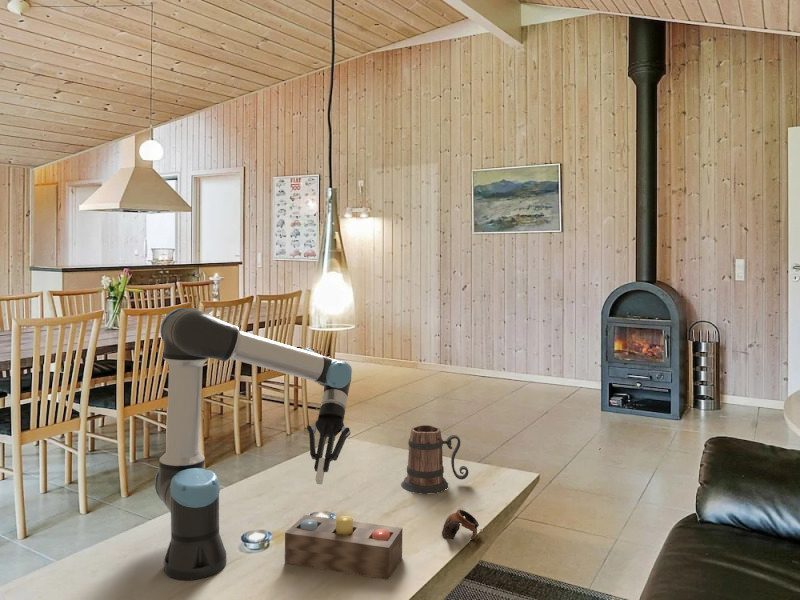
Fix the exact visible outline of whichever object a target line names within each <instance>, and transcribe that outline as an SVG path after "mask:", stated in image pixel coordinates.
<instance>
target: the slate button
mask: <svg viewBox="0 0 800 600" xmlns="http://www.w3.org/2000/svg"><path fill="white" fill-rule="evenodd" d="M316 528H317V521H316V520H313V519H307V520H303V521H302V522H301V529H305V530H312V531H314V530H315V529H316Z"/></svg>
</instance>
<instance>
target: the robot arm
mask: <svg viewBox="0 0 800 600" xmlns="http://www.w3.org/2000/svg"><path fill="white" fill-rule="evenodd" d="M160 336H161V339H162V341H163V354H162V355H163V360H164V361H166V363H167V364H168V383H167V384H168V388H167V411H166V416H167V417H166V435H165V436H166V437H165V438H166V439H165V440H166V441H165V453H164V454H163V455H161V456H160V457H159V463H158V464H159V465H158V470H157V471H156V474H155V477H154V488H155V492H156V494H157V497H158V498H159V499H160V500H161V501H162V503H164V505H165V506H166V508H167V509H168V510H169V512H170V535H171V536H170V541H169V545H168V547H167V551H166V553H165V557H164V561H163V570H164V573H165V575H167V576H168V577H170V578H172V579H174V580H180V581H181V580H183V581H189V580H192V581H193V580H199V579H204V578H208V577H210V576H212V575H214V574H215V575H216V574H217V573H218V572H220V571H221V570H223V569H224V568H225V567H226V566H227V565H226V564H227V550H226V549H225V545H224V543H223V540H222V536H221V534H220V491H221V490H220V489H221V488H220V484H219V478H218V475H217V474H216V473H215V472H214V471H213V470H210V469H205V458H206V457H205V456H204V455H203V453H201V451H200V441H201V440H200V438H201V437H200V435H201V416H202V415H201V413H202V392H203V391H202V387H203V367H204V366H203V365H204V364H205V362H207V361H209V359H214V360H219V361H222V362H229V361H230V360H233V361H236V362H237V361H239V362H241V363H244V364H249V365H252V366H257V367H259V368H264V369H267V370H271V371H275V372H279V373H282V374H284V375H285V374H286V375H290V376H293V377H298V378H301V379H305V380H308V381H312V382H314V383H317V384H318V385H319V386H322V387H323V393H322V397H321V398H322V399H321V403H320V408H319V412H318V417H317V420H316V421H315V423H314V424H313V425H306V429H307V432H308V434H309V435H308V436H309V455H310V457H311V459H312V460H315V462H314V471H315V472H316V474H315V479H314V480H315V482H316V484H317V485H323V483H324V476H325V473H328V472H329V469H330V464H331V462H332V461H334V462H335V461H337V460H338V458H339V456H340V454H341V451H342V450H343V449H342V448H343V446H344V445H345V442H346V440H347V439H348V437H350V435H351V430H350V427H347V426H345V423H344V421H345V414H346V408H347V402H348V398H349V397H348V396H349V391H350V386H351V381H352V374H353V373H352V372H353V370H352V369H353V368H352V366H351V365H350V364H349V363H348V362H346V361H343V360H338V359H335V358H331V357H328V356H325V355H322V354H318V353H317V352H315V350H312V349H310V348H308V347H304V348H302V349H301V348H297V347H295V346H291V345H288V344H284V343H281V342H278V341H274V340H271V339H269V338H265V337H262V336H259V335H255V334H252V333H249V332H246V331H241V330H240V329H239V326H237V325H234V324H232V323H229V322H226V321H223V320H222V319H220V318H217V317H215V316H213V315H211V314H209V313H207V312H205V311H202V310H198V309H197V308H196V309H195V308H193V307H181V308H179V307H178V308H175V309H174V310H171V311H170V312H169V313H168V314H167V315H166V316H165V317H164V318H163V320H162V322H161V324H160ZM317 431H318V434H319V440H318V445H317V449H316V438H315V437H316V436H315V434H316V433H317ZM339 434H340V435H339ZM338 435H339V437H338V440H337V441H336V440H335V439H336V436H338ZM327 438H328V439H327ZM326 441H327V443H326ZM335 441H336V444H335ZM334 444H335V446H334ZM325 445H326V450H324V449H325ZM324 451H325V454H324ZM323 455H324V457H323Z"/></svg>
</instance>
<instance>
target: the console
mask: <svg viewBox="0 0 800 600" xmlns="http://www.w3.org/2000/svg"><path fill="white" fill-rule="evenodd" d="M307 519H313V520H316V521H317V528H316V529H315V530H314V531H312V530H305V529H301V522H302V521H303V520H307ZM378 529H384V530H388V531H389V532H390V539H389V540H388V541H383V540H376V539H372V532H373V531H375V530H378ZM402 558H403V527H399V526H392V525H391V526H390V525H383V524H375V523H368V522H363V521H361V522H360V521H354V520H353V533H352V534H351V536H348V535H341V534H336V518H330V517H323V516H322V517H321V516H316V515H309V514H304V515H303V516H301V518H299V519H298V521H296V522H295V523H294V524H293V525H292V526H291V527H289V528H288V530H286V531H285V532H284V564H288V563H289V565H293V566H294V565H296V566H301V567H308V568H314V569H320V570H327V571H331V572H340V573H346V574H351V575H359V576H365V577H370V578H376V579H383V580H390V578H391V577H392V575H393V573H394V571H395V570H396V569H397V567H398V565H399V564H400V562H401V560H402Z"/></svg>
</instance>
